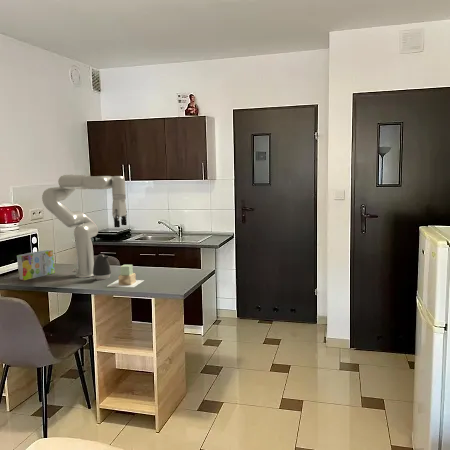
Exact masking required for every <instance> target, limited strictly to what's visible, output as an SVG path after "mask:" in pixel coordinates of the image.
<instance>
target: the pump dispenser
mask: <svg viewBox="0 0 450 450" xmlns="http://www.w3.org/2000/svg"><path fill="white" fill-rule="evenodd" d="M108 258H109V255H105V254H104V253H99V254H98V255H97V256H96V257H95V260H94V267H93V275H94V276H93V277H94V279H95V280H97V281H100V280H108V279H109V278H110V276H111V273H112V269H111V264H110V262H109V260H108Z"/></svg>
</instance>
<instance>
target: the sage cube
mask: <svg viewBox="0 0 450 450" xmlns="http://www.w3.org/2000/svg"><path fill="white" fill-rule="evenodd" d="M133 266H134V265H133V264H123V265H121V266H120V275H123V276H130V275H131V274H133V273H134V270H133V268H134V267H133Z"/></svg>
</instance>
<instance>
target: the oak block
mask: <svg viewBox="0 0 450 450" xmlns="http://www.w3.org/2000/svg"><path fill="white" fill-rule="evenodd" d="M136 276H137V275H136V273H135V272H133V274H131V275H130V276H123V275H121V274H119V275H118V280H119V285H132V284H133V283H135V282H136V280H137V279H136V278H137V277H136Z"/></svg>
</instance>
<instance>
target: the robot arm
mask: <svg viewBox="0 0 450 450" xmlns="http://www.w3.org/2000/svg"><path fill="white" fill-rule="evenodd" d="M57 182H58V185H59V186H57V187H49V188H46V189H45V190H44V191H43V192H42V195H41V199H42V204H43V206H44V208H46V210H47V211H48V212H49V213H51V214H53V216H54V217H56V218H57V220H59V221H60V223H62V224H63V225H64V226H66V228H69V229H70V228H73V229H74V230H73V236H74V240H75V241H74V242H75V247H76V248H75V249H76V260H77V268H73V269H72V273H75V277H76V278H80V279H81V278H83V279H85V278H92V277H94V275H93V267H94V262H95V260H94V258H95V257H94V247H93V242H92V238H93V237H94V238H95V237H96V236H97V235H98V233H99V227H98V225H97V224H96V222H94V221H93V220H92V219H91V218H90V217H89V216H87V215H86V214H85V213H84V212H82V211H80V210H75V211H72V210H71V209H69V208H68V207H67V206H66V205H65V204H63V203H61V201H62V202H63V201H65V200H66V199H67V198H69V196H70V195H71V194H72V193H73V192H74V191H75V190H108V189H111V191H112V192H111V193H112V195H111V196H112V204H111V205H112V206H111V207H112V208H111V209H112V212H111V213H112V218H113V224H114V228H120V227H121V226H127V222H128V221H127V215H128V214H127V203H126V195H127V194H126V179H125V177H124V176H122V175H114V176H111V175H97V176H93V175H91V176H90V175H86V174H63V175H60V176H59V177H58V180H57ZM120 222H121V223H120Z"/></svg>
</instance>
